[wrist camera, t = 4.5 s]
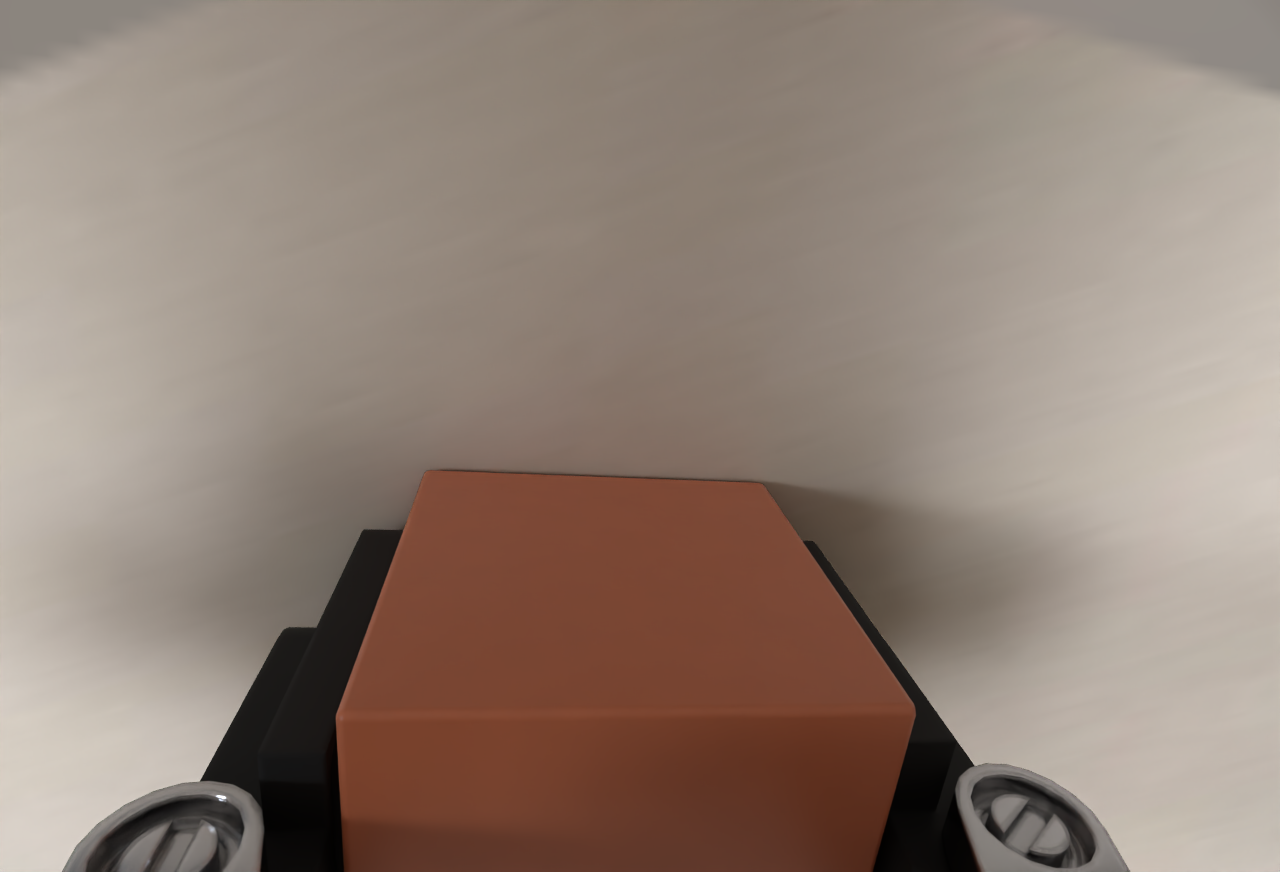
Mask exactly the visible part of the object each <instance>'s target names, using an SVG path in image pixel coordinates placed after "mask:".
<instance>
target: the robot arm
mask: <svg viewBox="0 0 1280 872" xmlns="http://www.w3.org/2000/svg"><path fill="white" fill-rule="evenodd" d="M402 533H403V530H368V529H365V530H363V531H362V533H361V535H360V537H359V539H358V541H357V543H356V546H355V548H354V550H353V552H352V554H351V556H350V558H349V560H348V562H347V565H346V567H345V569H344V571H343V573H342V575H341V577H340V579H339V581H338V584H337V586H336V588H335V590H334V592H333V594H332V596H331V598H330V600H329V603H328V605H327V607H326V609H325V611H324V613H323V615H322V617H321V619H320V622H319V624H318V626H317V628H301V627H289V628H286V629H284V630H283V631H282V633H281V634H280V636H279V637H278V639H277V641H276V642H275V644H274V646H273V648H272V650H271V652H270V653H269V655H268V657H267V659H266V661H265V663H264V664H263V666H262V668H261V670H260V672H259V674H258V675H257V677H256V679H255V681H254V683H253V685H252V686H251V688H250V690H249V692H248V694H247V696H246V698H245V699H244V701H243V703H242V705H241V707H240V709H239V710H238V712H237V714H236V716H235V718H234V720H233V721H232V723H231V725H230V727H229V729H228V731H227V732H226V734H225V736H224V738H223V740H222V742H221V743H220V745H219V747H218V749H217V751H216V753H215V755H214V756H213V758H212V760H211V762H210V764H209V766H208V767H207V769H206V771H205V773H204V775H203V777H202V778H201V780H200V782H189V783H181V784H178V785H174V786H170V787H167V788H163V789H160V790H156V791H153V792H151V793H149V794H147V795H145V796H142V797H140V798H138V799H136V800H134V801H132V802H130V803H128V804H126V805H124V806H122V807H121V808H120V809H118V810H117V811H115V812H114V813H112V814H111V815H110V816H108V817H107V818H105V819H104V820H102V821H101V822H100V823H98V824H97V825H96V826H95V827H94V828H93V829H92V830H91V831H90V832H89V833H88V835H87V836H86V837H85V838H84V839H83V840H82V841H81V842H80V843H79V844H78V845H77V846H76V848H75V849H74V851H73V853H72V855H71V856H70V858H69V860H68V862H67V863H66V865H65V867H64V869H63V871H62V872H344V863H343V844H342V826H341V807H340V789H339V770H338V751H337V733H336V714H337V711H338V708H339V706H340V703H341V700H342V697H343V695H344V692H345V689H346V686H347V684H348V681H349V678H350V675H351V673H352V670H353V667H354V664H355V662H356V659H357V656H358V653H359V651H360V648H361V645H362V642H363V640H364V637H365V634H366V632H367V629H368V626H369V623H370V621H371V618H372V615H373V612H374V610H375V607H376V604H377V601H378V599H379V596H380V593H381V590H382V588H383V585H384V582H385V579H386V577H387V574H388V571H389V568H390V566H391V563H392V560H393V557H394V555H395V552H396V549H397V547H398V544H399V541H400V538H401V536H402ZM803 543H804V544H805V546H806V547H807V549H808V550H809V552H810V553H811V555H812V556H813V557H814V559H815V560H816V562H817V563H818V565H819V566H820V568H821V569H822V571H823V572H824V573H825V575H826V576H827V578H828V579H829V581H830V582H831V584H832V585H833V587H834V588H835V590H836V591H837V592H838V594H839V595H840V597H841V598H842V600H843V601H844V603H845V604H846V606H847V607H848V609H849V610H850V611H851V613H852V614H853V616H854V617H855V619H856V620H857V622H858V623H859V625H860V626H861V628H862V629H863V630H864V632H865V633H866V635H867V636H868V638H869V639H870V641H871V642H872V644H873V645H874V647H875V648H876V649H877V651H878V652H879V654H880V655H881V657H882V658H883V660H884V661H885V663H886V664H887V665H888V667H889V668H890V670H891V671H892V673H893V674H894V676H895V677H896V679H897V680H898V682H899V683H900V684H901V686H902V687H903V689H904V690H905V692H906V693H907V695H908V696H909V698H910V699H911V701H912V702H913V703H914V706H915V711H916V717H915V720H914V724H913V728H912V731H911V735H910V738H909V742H908V746H907V749H906V753H905V757H904V760H903V764H902V767H901V771H900V775H899V778H898V782H897V786H896V789H895V793H894V796H893V800H892V804H891V807H890V811H889V815H888V818H887V822H886V825H885V829H884V833H883V836H882V840H881V843H880V847H879V851H878V854H877V858H876V862H875V865H874V869H873V872H1130V870H1129V869H1128V867H1127V865H1126V863H1125V862H1124V860H1123V858H1122V856H1121V855H1120V853H1119V851H1118V850H1117V848H1116V846H1115V844H1114V843H1113V841H1112V839H1111V837H1110V836H1109V834H1108V832H1107V831H1106V829H1105V828H1104V826H1103V825H1102V824H1101V822H1100V821H1099V820H1098V818H1097V817H1096V816H1095V814H1094V813H1093V812H1092V811H1091V810H1090V809H1089V808H1088V807H1087V806H1086V805H1084V804H1083V803H1082V802H1081V801H1080V800H1079V799H1078V798H1077V797H1076V796H1074V795H1073V794H1072V793H1070V792H1069V791H1067V790H1066V789H1064V788H1063V787H1061V786H1059V785H1058V784H1056V783H1055V782H1053V781H1052V780H1050V779H1047V778H1045V777H1043V776H1041V775H1038V774H1036V773H1034V772H1032V771H1029V770H1026V769H1022V768H1019V767H1015V766H1011V765H1007V764H988V763H986V764H982V765H978V766H974V764H973V763H972V761H971V760H970V759H969V757H968V756H967V754H966V753H965V752H964V750H963V749H962V747H961V746H960V745H959V743H958V742H957V740H956V739H955V738H954V736H953V735H952V733H951V732H950V731H949V729H948V728H947V726H946V725H945V724H944V722H943V721H942V719H941V718H940V717H939V715H938V714H937V712H936V711H935V710H934V708H933V707H932V705H931V704H930V703H929V701H928V700H927V698H926V697H925V696H924V694H923V693H922V691H921V690H920V688H919V687H918V686H917V684H916V683H915V681H914V680H913V679H912V677H911V676H910V674H909V673H908V672H907V670H906V669H905V667H904V666H903V665H902V663H901V662H900V660H899V659H898V658H897V656H896V655H895V653H894V652H893V651H892V649H891V648H890V646H889V645H888V644H887V642H886V641H885V640H884V639H883V637H882V636H881V635H880V633H879V632H878V630H877V629H876V628H875V626H874V625H873V623H872V622H871V621H870V619H869V618H868V616H867V615H866V614H865V612H864V611H863V609H862V608H861V607H860V605H859V604H858V602H857V601H856V600H855V598H854V597H853V595H852V594H851V593H850V591H849V590H848V588H847V587H846V586H845V584H844V583H843V581H842V580H841V579H840V577H839V576H838V574H837V573H836V572H835V570H834V569H833V567H832V566H831V565H830V563H829V562H828V560H827V559H826V557H825V556H824V555H823V553H822V552H821V550H820V549H819V548H818V546H817V545H816V544H815V543H814V542H813V541H803Z"/></svg>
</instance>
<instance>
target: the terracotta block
mask: <svg viewBox="0 0 1280 872" xmlns="http://www.w3.org/2000/svg"><path fill="white" fill-rule="evenodd" d="M915 717H916V711H915V706H914V703H913V702H912V701H911V699H910V698H909V696H908V695H907V693H906V692H905V690H904V689H903V687H902V686H901V684H900V683H899V682H898V680H897V679H896V677H895V676H894V674H893V673H892V671H891V670H890V668H889V667H888V665H887V664H886V663H885V661H884V660H883V658H882V657H881V655H880V654H879V652H878V651H877V649H876V648H875V647H874V645H873V644H872V642H871V641H870V639H869V638H868V636H867V635H866V633H865V632H864V630H863V629H862V628H861V626H860V625H859V623H858V622H857V620H856V619H855V617H854V616H853V614H852V613H851V611H850V610H849V609H848V607H847V606H846V604H845V603H844V601H843V600H842V598H841V597H840V595H839V594H838V592H837V591H836V590H835V588H834V587H833V585H832V584H831V582H830V581H829V579H828V578H827V576H826V575H825V573H824V572H823V571H822V569H821V568H820V566H819V565H818V563H817V562H816V560H815V559H814V557H813V556H812V555H811V553H810V552H809V550H808V549H807V547H806V546H805V544H804V543H803V541H802V540H801V538H800V537H799V536H798V534H797V533H796V531H795V530H794V528H793V527H792V525H791V524H790V522H789V521H788V519H787V518H786V517H785V515H784V514H783V512H782V511H781V509H780V508H779V506H778V505H777V503H776V502H775V500H774V499H773V498H772V496H771V495H770V493H769V492H768V490H767V489H766V487H765V486H764V485H763V484H761V483H747V482H721V481H695V480H669V479H643V478H617V477H591V476H565V475H539V474H513V473H487V472H461V471H435V470H429V471H426V472H425V473H424V475H423V478H422V481H421V483H420V486H419V489H418V492H417V494H416V497H415V500H414V503H413V505H412V508H411V511H410V514H409V516H408V519H407V522H406V525H405V527H404V530H403V533H402V536H401V538H400V541H399V544H398V547H397V549H396V552H395V555H394V557H393V560H392V563H391V566H390V568H389V571H388V574H387V577H386V579H385V582H384V585H383V588H382V590H381V593H380V596H379V599H378V601H377V604H376V607H375V610H374V612H373V615H372V618H371V621H370V623H369V626H368V629H367V632H366V634H365V637H364V640H363V642H362V645H361V648H360V651H359V653H358V656H357V659H356V662H355V664H354V667H353V670H352V673H351V675H350V678H349V681H348V684H347V686H346V689H345V692H344V695H343V697H342V700H341V703H340V706H339V708H338V711H337V714H336V733H337V751H338V770H339V789H340V807H341V826H342V844H343V863H344V872H873V869H874V865H875V862H876V858H877V854H878V851H879V847H880V843H881V840H882V836H883V833H884V829H885V825H886V822H887V818H888V815H889V811H890V807H891V804H892V800H893V796H894V793H895V789H896V786H897V782H898V778H899V775H900V771H901V767H902V764H903V760H904V757H905V753H906V749H907V746H908V742H909V738H910V735H911V731H912V728H913V724H914V720H915Z"/></svg>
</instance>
